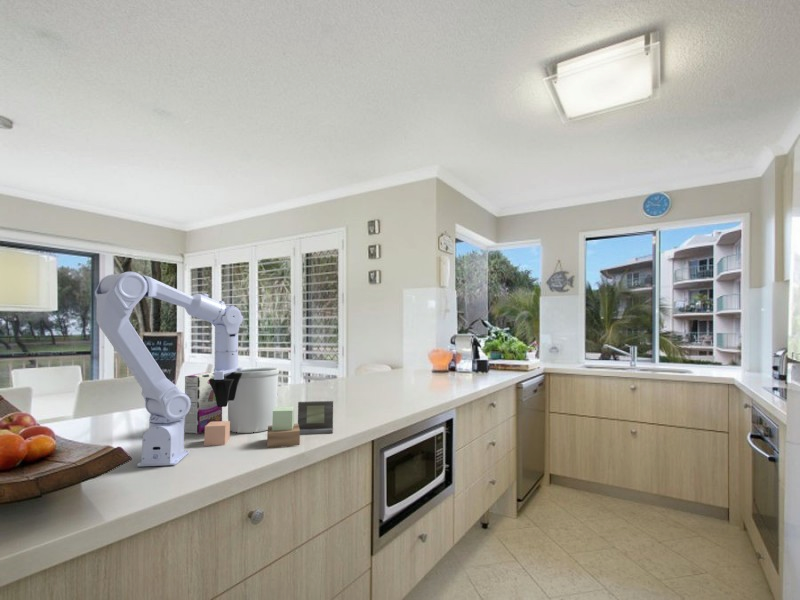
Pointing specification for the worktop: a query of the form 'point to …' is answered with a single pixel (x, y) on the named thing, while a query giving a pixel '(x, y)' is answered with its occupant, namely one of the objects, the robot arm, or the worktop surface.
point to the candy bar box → (200, 403)
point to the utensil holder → (254, 400)
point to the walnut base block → (283, 437)
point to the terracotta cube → (217, 433)
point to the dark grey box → (315, 417)
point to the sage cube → (283, 418)
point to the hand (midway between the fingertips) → (226, 403)
